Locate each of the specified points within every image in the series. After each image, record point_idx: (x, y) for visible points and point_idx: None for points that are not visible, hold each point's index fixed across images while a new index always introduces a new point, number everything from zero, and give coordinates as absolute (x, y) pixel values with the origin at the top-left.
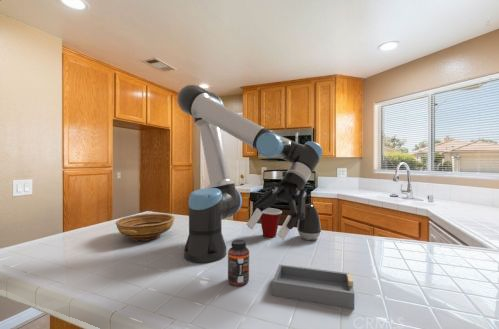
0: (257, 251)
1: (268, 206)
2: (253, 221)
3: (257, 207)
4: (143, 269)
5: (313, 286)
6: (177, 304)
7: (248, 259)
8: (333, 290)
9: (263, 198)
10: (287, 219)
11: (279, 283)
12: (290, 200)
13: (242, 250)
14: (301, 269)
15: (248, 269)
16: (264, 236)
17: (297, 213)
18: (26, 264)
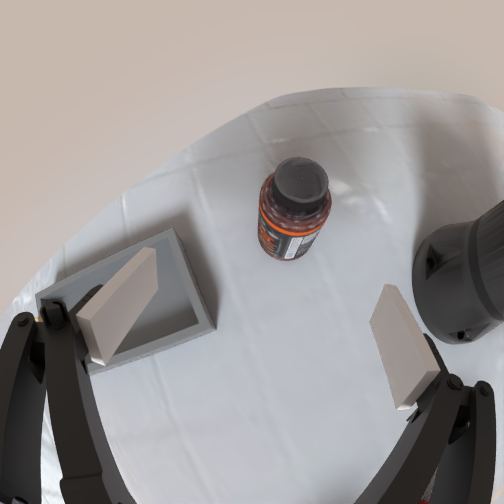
0: (378, 421)
1: (388, 460)
2: (388, 326)
3: (443, 379)
4: (443, 160)
5: (90, 269)
6: (301, 124)
7: (261, 218)
8: (60, 281)
9: (471, 461)
10: (97, 296)
11: (157, 234)
12: (73, 459)
13: (271, 183)
14: (145, 344)
15: (261, 232)
16: (419, 501)
17: (31, 322)
18: (491, 112)
